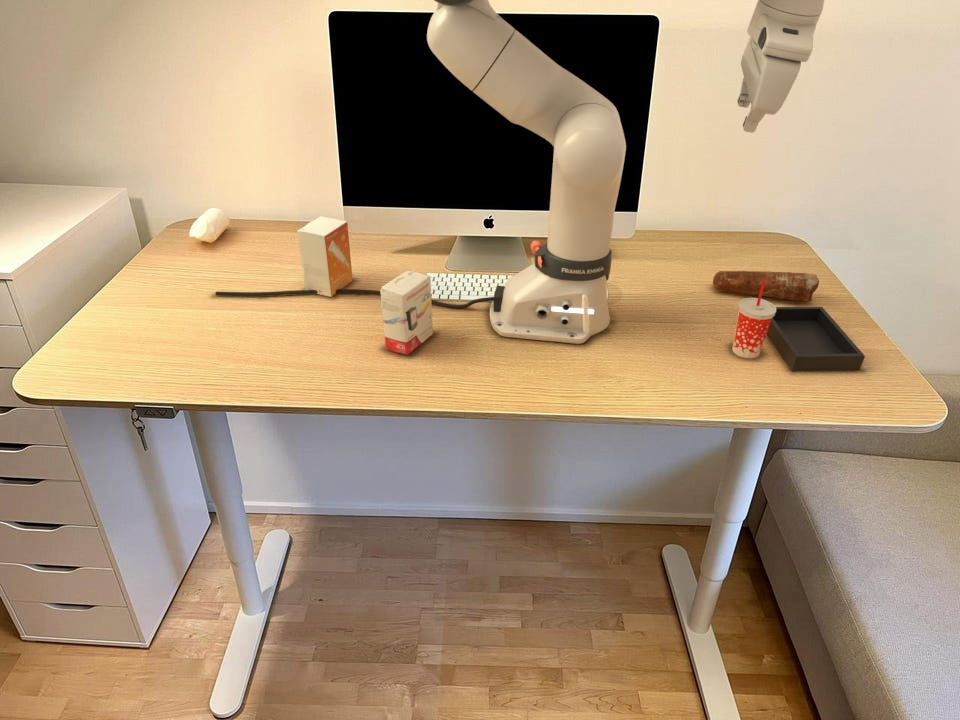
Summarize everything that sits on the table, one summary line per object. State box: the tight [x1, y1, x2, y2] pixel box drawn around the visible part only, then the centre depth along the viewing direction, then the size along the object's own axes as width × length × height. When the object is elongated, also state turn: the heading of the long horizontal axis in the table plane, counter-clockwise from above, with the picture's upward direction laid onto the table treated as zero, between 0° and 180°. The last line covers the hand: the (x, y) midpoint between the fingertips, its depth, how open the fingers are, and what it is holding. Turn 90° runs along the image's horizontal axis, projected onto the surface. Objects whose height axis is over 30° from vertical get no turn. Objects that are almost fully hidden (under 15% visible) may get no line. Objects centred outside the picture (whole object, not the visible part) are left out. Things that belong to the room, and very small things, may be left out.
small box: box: [296, 215, 353, 298], centre depth 139 cm, size 8×6×13 cm
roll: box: [189, 207, 231, 244], centre depth 158 cm, size 6×12×6 cm, turn 176°
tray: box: [766, 306, 866, 372], centre depth 126 cm, size 12×17×3 cm
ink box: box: [379, 269, 434, 356], centre depth 123 cm, size 9×5×12 cm, turn 150°
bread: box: [712, 270, 820, 302], centre depth 141 cm, size 6×19×6 cm, turn 74°
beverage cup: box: [731, 279, 777, 359], centre depth 121 cm, size 6×6×14 cm
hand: (745, 117), depth 112 cm, fingers open, 8 cm apart
